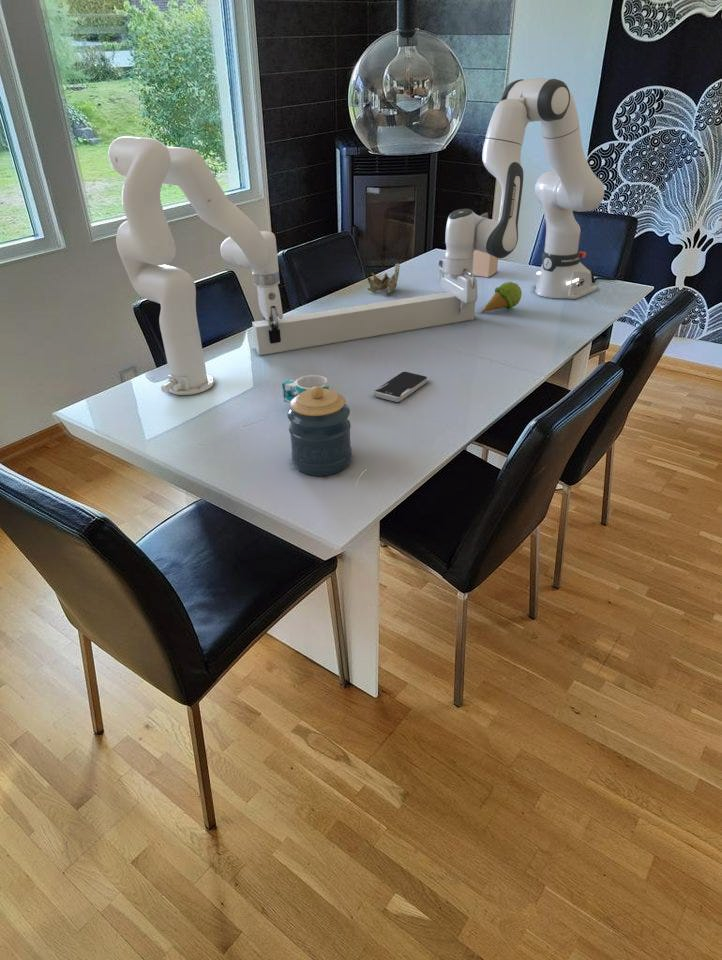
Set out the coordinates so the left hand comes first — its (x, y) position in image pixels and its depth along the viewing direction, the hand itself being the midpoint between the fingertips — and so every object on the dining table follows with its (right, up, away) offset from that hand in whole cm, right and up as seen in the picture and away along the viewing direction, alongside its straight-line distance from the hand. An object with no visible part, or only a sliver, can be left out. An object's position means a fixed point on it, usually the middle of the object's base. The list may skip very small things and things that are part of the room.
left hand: (273, 338), depth 199 cm
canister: (+18, -38, -54) cm, 68 cm away
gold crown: (+36, +27, +46) cm, 65 cm away
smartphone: (+37, -18, -24) cm, 48 cm away
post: (+29, +4, +10) cm, 31 cm away
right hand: (+57, +13, +17) cm, 61 cm away
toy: (+72, +17, +22) cm, 78 cm away
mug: (+13, -25, -33) cm, 44 cm away
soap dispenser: (+72, +37, +59) cm, 100 cm away
